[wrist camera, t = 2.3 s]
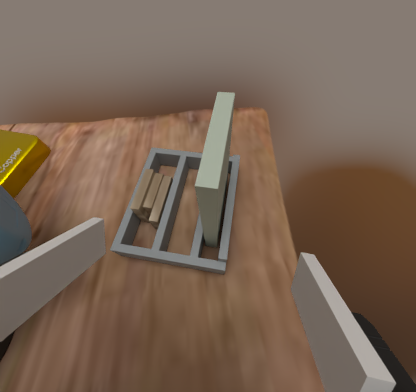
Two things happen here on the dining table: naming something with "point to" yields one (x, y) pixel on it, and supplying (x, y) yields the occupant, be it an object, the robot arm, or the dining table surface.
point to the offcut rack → (158, 251)
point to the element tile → (19, 159)
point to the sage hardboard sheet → (215, 168)
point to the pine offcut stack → (151, 197)
